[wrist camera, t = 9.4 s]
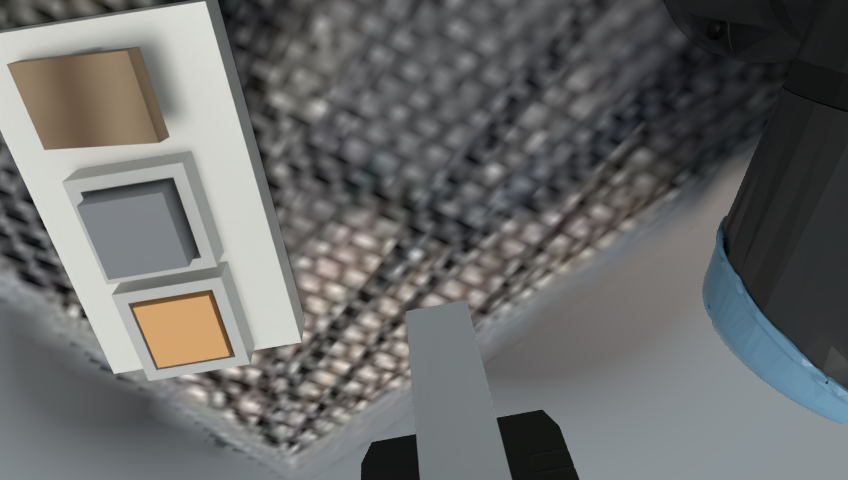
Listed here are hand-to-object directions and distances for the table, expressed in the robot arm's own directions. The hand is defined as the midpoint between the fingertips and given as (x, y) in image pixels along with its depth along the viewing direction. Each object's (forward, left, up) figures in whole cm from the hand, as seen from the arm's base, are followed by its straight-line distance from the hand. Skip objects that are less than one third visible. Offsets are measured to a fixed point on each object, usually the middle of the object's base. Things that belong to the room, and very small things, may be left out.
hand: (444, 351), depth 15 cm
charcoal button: (+17, +5, -24) cm, 30 cm away
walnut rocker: (+17, -3, -24) cm, 29 cm away
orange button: (+17, +13, -26) cm, 33 cm away
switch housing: (+17, +5, -29) cm, 34 cm away
